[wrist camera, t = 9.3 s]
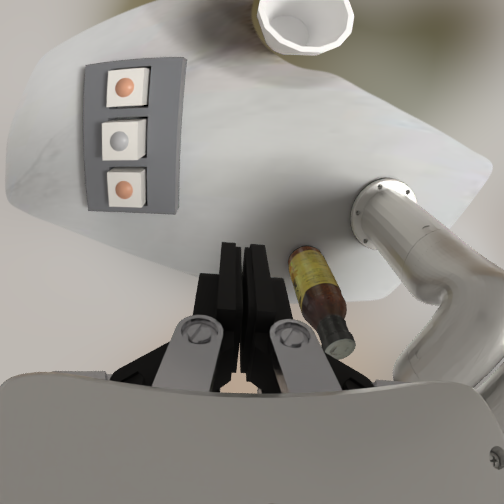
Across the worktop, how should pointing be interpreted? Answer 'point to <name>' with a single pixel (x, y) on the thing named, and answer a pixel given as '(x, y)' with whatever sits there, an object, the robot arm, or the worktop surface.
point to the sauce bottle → (321, 300)
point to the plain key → (124, 139)
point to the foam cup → (305, 25)
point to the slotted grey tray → (158, 133)
